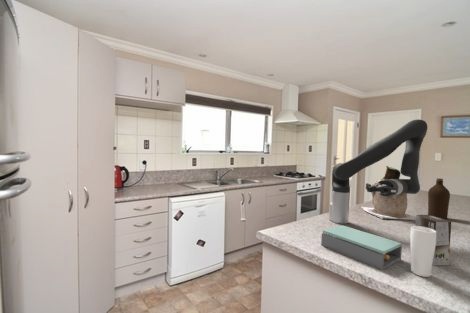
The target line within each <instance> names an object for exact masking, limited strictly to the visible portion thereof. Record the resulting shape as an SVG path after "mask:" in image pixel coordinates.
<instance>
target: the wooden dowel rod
mask: <svg viewBox="0 0 470 313" xmlns="http://www.w3.org/2000/svg"><path fill="white" fill-rule="evenodd" d="M336 238H337V237H336ZM344 241H345V240H344ZM347 242H348V241H347ZM350 243H351V242H350ZM358 246H359V245H358ZM361 247H362V246H361ZM364 248H365V247H364ZM372 251H373V250H372ZM375 252H376V251H375ZM378 253H379V252H378ZM389 258H390V257H389V255H388V254H384V259H386V260H388V259H389Z"/></svg>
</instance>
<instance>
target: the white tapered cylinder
mask: <svg viewBox="0 0 470 313" xmlns="http://www.w3.org/2000/svg"><path fill="white" fill-rule="evenodd" d="M409 234H410V235H409V237H410V238H409V246H410V270H411V272H412V273H413V274H415V275H416V276H418V277H419V276H420V277H423V278H429V277H431V276H432V268H433V265H432V264H433V258H434V252H435V247H436V231H435V230H433V229H430V228H426V227H421V226H416V225H412V226H410V232H409Z"/></svg>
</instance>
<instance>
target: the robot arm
mask: <svg viewBox="0 0 470 313" xmlns="http://www.w3.org/2000/svg"><path fill="white" fill-rule="evenodd" d="M427 133H428V123H427V122H426V121H425V120H423V119H418V118H417V119H413V120H411V121H409V122H407V123H405V124H404V125H402V126H401V127H400V128H398V129H397V130H395V131H394V132H393V133H391V134H389V135H387V136H385V137H384V138H381V139H380V140H378V141H377V142H374V143H373V144H371V145H369V146H368V147H367V148H365V149H364V150H362V151H361V152H360V153H359V154H357V156H355V157H353V158H352V159H350V160H348V161H345V162H339V163H337V164H334V166H333V167H332V174H331V187H332V191H331V202H330V204H329V218H328V219H329V221H331V222H332V223H337V224H342V225H344V224H348V223H349V217H350V198H351V186H350V178H351V177H353V176H354V175H356V174H357V173H359V172H361V171H362V170H364V169H366V168H368V167H370V166H372V165H375V163H378V162H380V161H382V160H383V159H385V158H387V157H389V156H390V155H392V154H393V153H394V152H395V151H396V150H397V149H398V148H399V147H401V146H402V145H403V144H404V143H405V148H404V149H405V150H404V153H403V156H402V160H401V166H400V170H399V171H400V175H401V176H404V177H407V178H399V179H395V180H393V179H388V180H381V181H379V182H378V183H377V184H375V183H374V184H370V183H368V182H367V183H365V190H366V192H368V193H371V192H376V193H377V192H378V193H379V194H380V195H382V196H385V197H388V196H395V195H399V194H403V193H407V195H409V194H411V195H416V194H417V193H419V192H420V190H421V184H420V179H419V174H418V173H419V166H420V151H421V147H422V144H423V142H424V139H425V137H426V136H427ZM408 177H409V178H408Z"/></svg>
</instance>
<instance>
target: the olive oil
mask: <svg viewBox="0 0 470 313" xmlns="http://www.w3.org/2000/svg"><path fill="white" fill-rule="evenodd" d="M450 193H451V192H450V190H449V189H448V188H447V187H446V186H445V185H444V178H438V177H437V178H436V180H435V184H434V185H433V186H432V187H430V188H429V189H428V193H427V195H428V196H427V198H428V199H427V202H428V203H427V215H431V216H435V217H438V218H441V219H444V220H448V216H449V214H448V213H449V205H450V198H451V194H450Z"/></svg>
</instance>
